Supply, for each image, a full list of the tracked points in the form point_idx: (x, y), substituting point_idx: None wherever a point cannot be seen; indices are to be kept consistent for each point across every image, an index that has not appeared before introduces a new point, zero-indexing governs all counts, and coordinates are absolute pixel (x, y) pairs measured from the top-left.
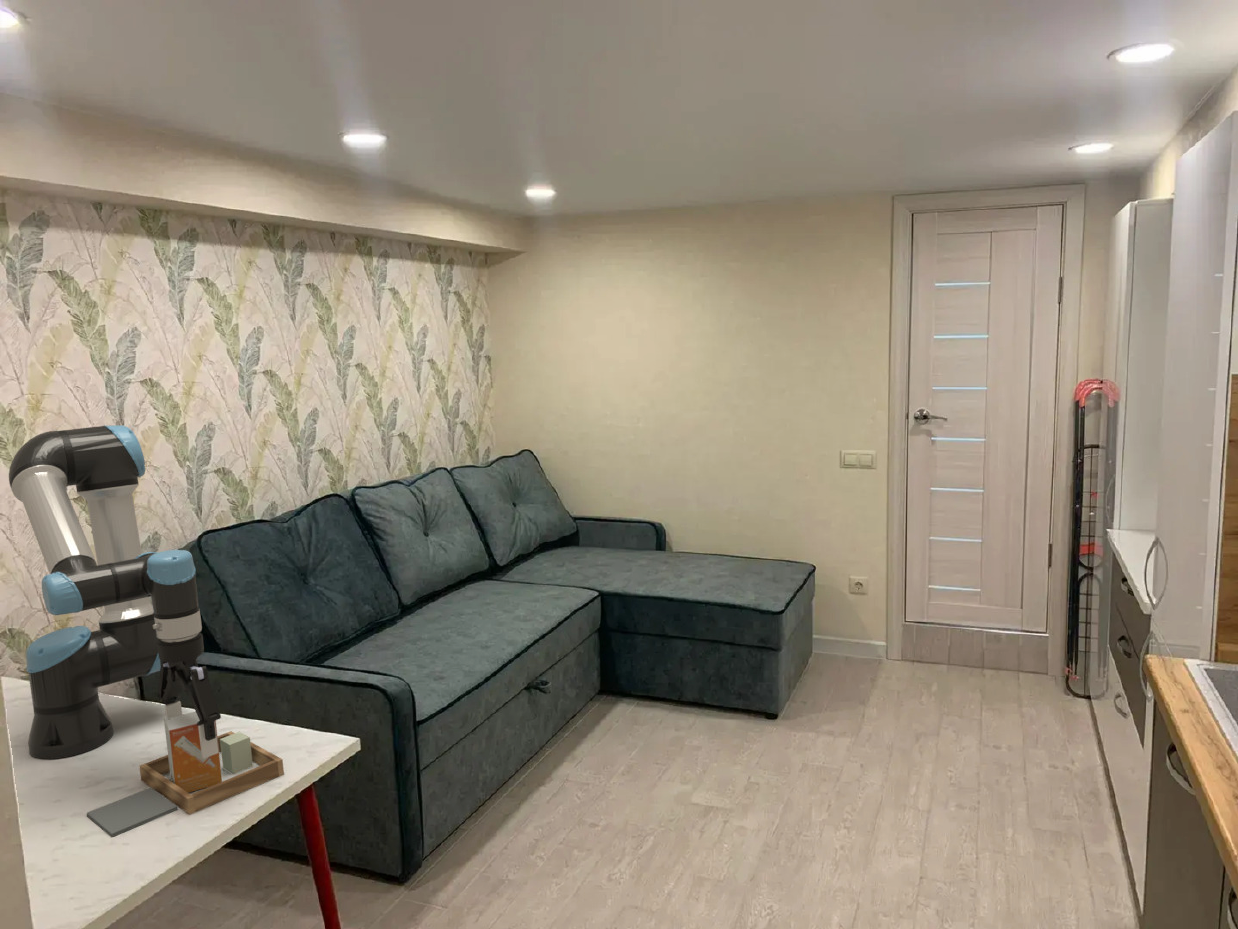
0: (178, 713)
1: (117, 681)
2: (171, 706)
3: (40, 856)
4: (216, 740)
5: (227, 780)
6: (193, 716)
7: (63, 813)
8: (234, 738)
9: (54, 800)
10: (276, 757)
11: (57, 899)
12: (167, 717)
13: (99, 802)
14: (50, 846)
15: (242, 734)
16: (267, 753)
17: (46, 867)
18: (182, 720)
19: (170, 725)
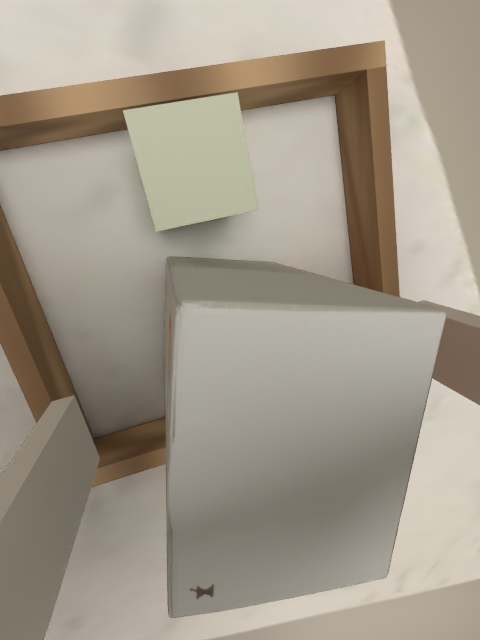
0: (31, 513)
1: None
2: (16, 638)
3: (319, 608)
4: (477, 318)
5: (387, 270)
6: (289, 448)
7: (159, 602)
8: (198, 165)
9: (67, 630)
10: (353, 53)
11: (468, 565)
12: (63, 575)
13: (154, 542)
14: (295, 600)
15: (174, 111)
16: (291, 67)
17: (365, 593)
18: (306, 518)
19: (328, 579)
